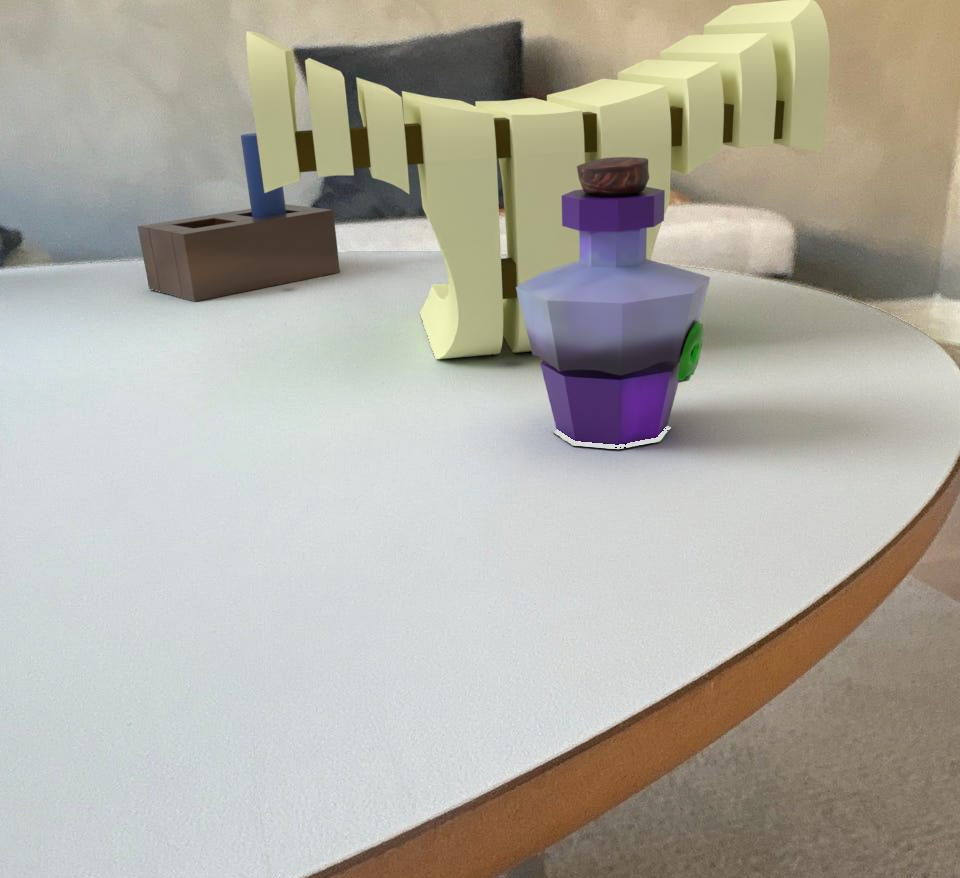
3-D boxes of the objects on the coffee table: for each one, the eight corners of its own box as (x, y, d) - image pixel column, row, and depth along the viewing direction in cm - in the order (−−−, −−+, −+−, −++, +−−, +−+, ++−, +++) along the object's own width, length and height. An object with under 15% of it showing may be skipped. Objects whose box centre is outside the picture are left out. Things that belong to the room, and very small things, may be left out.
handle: (254, 276, 92) (233, 135, 87) (282, 270, 93) (264, 132, 88) (271, 279, 90) (252, 136, 85) (300, 274, 92) (282, 132, 87)
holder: (149, 289, 89) (136, 226, 87) (290, 262, 97) (282, 203, 94) (194, 301, 83) (183, 234, 81) (340, 272, 91) (333, 209, 89)
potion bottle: (720, 457, 47) (735, 163, 42) (523, 466, 48) (512, 175, 42) (689, 399, 55) (698, 144, 50) (519, 406, 55) (510, 154, 50)
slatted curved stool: (290, 387, 61) (242, 29, 53) (297, 323, 75) (260, 33, 67) (806, 342, 64) (836, -5, 55) (719, 288, 78) (732, 5, 70)
